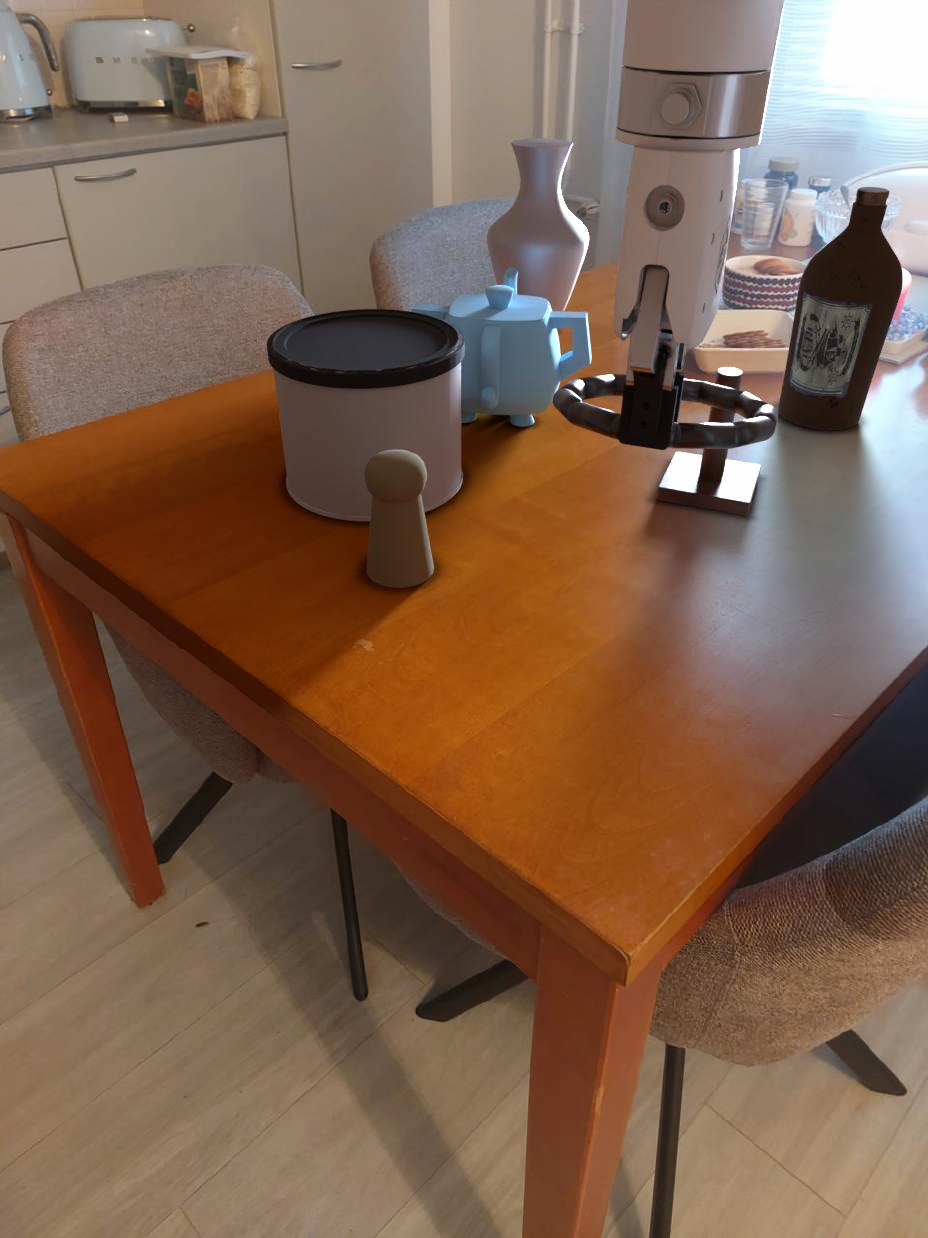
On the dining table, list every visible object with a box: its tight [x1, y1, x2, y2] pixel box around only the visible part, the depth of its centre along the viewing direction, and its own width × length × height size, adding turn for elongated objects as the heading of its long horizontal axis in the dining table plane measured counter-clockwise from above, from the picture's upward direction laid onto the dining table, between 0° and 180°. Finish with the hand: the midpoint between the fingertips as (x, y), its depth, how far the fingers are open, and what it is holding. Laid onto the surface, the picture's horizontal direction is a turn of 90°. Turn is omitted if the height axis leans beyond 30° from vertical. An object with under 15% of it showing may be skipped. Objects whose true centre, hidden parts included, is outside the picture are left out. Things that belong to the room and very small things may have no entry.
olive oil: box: [777, 186, 904, 431], centre depth 100 cm, size 11×11×25 cm
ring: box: [552, 373, 779, 450], centre depth 63 cm, size 15×15×2 cm
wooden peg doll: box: [364, 449, 435, 589], centre depth 77 cm, size 6×6×11 cm
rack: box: [656, 366, 762, 517], centre depth 89 cm, size 9×9×12 cm
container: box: [266, 308, 465, 522], centre depth 90 cm, size 19×19×15 cm
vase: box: [486, 137, 590, 312], centre depth 127 cm, size 14×14×25 cm
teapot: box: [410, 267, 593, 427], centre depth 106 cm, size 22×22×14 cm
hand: (647, 436), depth 57 cm, fingers closed on ring, 1 cm apart
